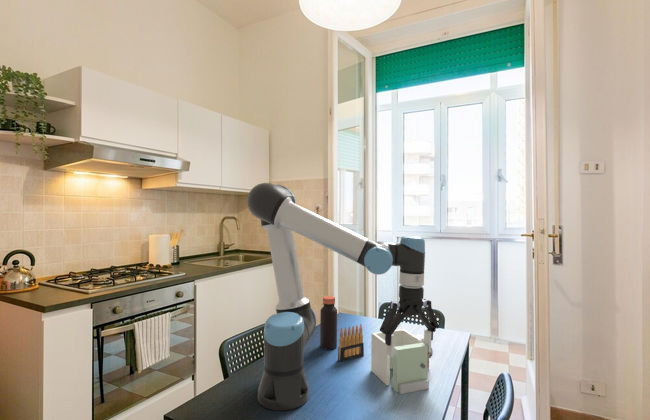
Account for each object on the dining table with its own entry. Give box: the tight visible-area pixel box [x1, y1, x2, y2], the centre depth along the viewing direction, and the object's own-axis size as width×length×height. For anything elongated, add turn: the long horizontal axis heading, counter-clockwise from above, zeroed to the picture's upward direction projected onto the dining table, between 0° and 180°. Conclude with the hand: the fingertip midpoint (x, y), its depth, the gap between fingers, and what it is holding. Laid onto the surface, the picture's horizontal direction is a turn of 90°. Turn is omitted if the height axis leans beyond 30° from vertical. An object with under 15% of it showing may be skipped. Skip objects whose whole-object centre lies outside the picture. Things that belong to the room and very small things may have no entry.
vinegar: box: [319, 295, 338, 351], centre depth 140 cm, size 7×7×20 cm
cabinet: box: [370, 328, 430, 395], centre depth 114 cm, size 13×17×13 cm
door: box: [392, 343, 428, 393], centre depth 108 cm, size 11×3×13 cm, turn 110°
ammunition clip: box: [337, 323, 365, 362], centre depth 130 cm, size 11×2×12 cm, turn 121°
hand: (409, 353), depth 109 cm, fingers open, 13 cm apart
